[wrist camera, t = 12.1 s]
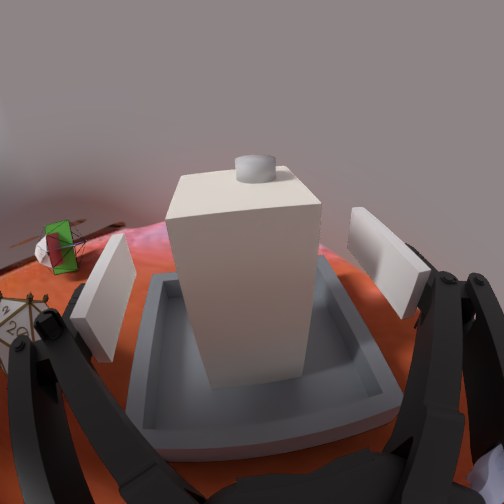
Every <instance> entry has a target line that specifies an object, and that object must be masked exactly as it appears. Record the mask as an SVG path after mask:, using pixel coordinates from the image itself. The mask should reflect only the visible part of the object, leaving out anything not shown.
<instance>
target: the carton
mask: <svg viewBox="0 0 504 504" xmlns="http://www.w3.org/2000/svg"><path fill="white" fill-rule="evenodd" d="M235 167H236V169H235V170H225V171H215V172H206V173H198V174H190V175H182V176H181V178H180V180H179V183H178V186H177V188H176V191H175V193H174V196H173V199H172V201H171V204H170V207H169V210H168V212H167V215H166V218H165V222H166V226H167V231H168V236H169V240H170V245H171V249H172V254H173V258H174V262H175V266H176V270H177V275H178V279H179V283H180V286H181V290H182V294H183V298H184V302H185V305H186V309H187V312H188V316H189V320H190V323H191V327H192V330H193V333H194V337H195V340H196V343H197V346H198V350H199V353H200V356H201V359H202V362H203V365H204V368H205V371H206V374H207V377H208V380H209V383H210V386H211V389H219V388H229V387H238V386H247V385H254V384H262V383H268V382H275V381H281V380H287V379H292V378H298V377H302V372H303V366H304V360H305V354H306V348H307V341H308V335H309V328H310V321H311V313H312V305H313V297H314V289H315V280H316V270H317V260H318V250H319V237H320V225H321V210H322V203H321V202H320V201H319V200H318V199H317V198H316V197H315V196H314V195H313V194H312V193H311V192H310V190H309V189H308V188H307V187H306V186H305V185H304V184H303V183H302V182H301V181H300V180H299V179H298V178H297V177H296V176H295V175H294V174H293V173H292V172H291V171H290V170H289V169H288V168H287V167H286V166H276V158H275V157H274V156H270V155H246V156H241V157H238V158H236V159H235Z"/></svg>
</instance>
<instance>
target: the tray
mask: <svg viewBox="0 0 504 504" xmlns="http://www.w3.org/2000/svg"><path fill="white" fill-rule="evenodd" d="M403 396H404V395H403V393H402V391H401V389H400V387H399V385H398V383H397V381H396V379H395V377H394V375H393V373H392V371H391V369H390V368H389V366H388V364H387V362H386V360H385V358H384V356H383V354H382V353H381V351H380V349H379V347H378V345H377V344H376V342H375V340H374V338H373V336H372V335H371V333H370V331H369V329H368V327H367V326H366V324H365V322H364V320H363V319H362V317H361V315H360V314H359V312H358V310H357V308H356V307H355V305H354V303H353V302H352V300H351V298H350V297H349V295H348V293H347V292H346V290H345V288H344V287H343V285H342V283H341V282H340V280H339V279H338V277H337V275H336V274H335V272H334V271H333V269H332V267H331V266H330V264H329V263H328V261H327V259H326V258H325V256H324V255H318V260H317V270H316V280H315V289H314V297H313V305H312V313H311V321H310V328H309V335H308V341H307V348H306V354H305V360H304V366H303V372H302V377H298V378H292V379H287V380H281V381H275V382H268V383H262V384H254V385H247V386H238V387H229V388H219V389H211V386H210V383H209V380H208V377H207V374H206V371H205V368H204V365H203V362H202V359H201V356H200V353H199V350H198V346H197V343H196V340H195V337H194V333H193V330H192V327H191V323H190V320H189V316H188V312H187V309H186V305H185V302H184V298H183V294H182V290H181V286H180V283H179V279H178V275H177V272H170V273H160V274H152V278H151V282H150V286H149V290H148V294H147V298H146V302H145V306H144V310H143V315H142V319H141V324H140V328H139V333H138V338H137V343H136V348H135V353H134V359H133V364H132V370H131V376H130V382H129V389H128V396H127V403H126V411H125V414H126V415H127V416H128V417H129V419H130V420H131V421H132V423H133V424H134V425H135V426H136V428H137V429H138V430H139V431H140V433H141V434H142V435H143V436H144V437H145V439H146V440H147V441H148V442H149V443H150V444H151V446H152V447H153V448H154V449H155V450H156V451H157V452H158V453H159V455H160V456H161V457H162V458H163V459H164V460H165V461H166V462H208V461H225V460H237V459H247V458H255V457H262V456H269V455H275V454H281V453H286V452H292V451H297V450H301V449H306V448H310V447H314V446H318V445H322V444H326V443H330V442H334V441H337V440H340V439H344V438H347V437H350V436H353V435H357V434H360V433H362V432H365V431H368V430H371V429H374V428H376V427H379V426H382V425H384V424H387V423H389V422H391V421H392V419H393V418H394V417H395V416H396V415H397V414H398V413H399V410H400V407H401V403H402V400H403Z"/></svg>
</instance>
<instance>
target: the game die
mask: <svg viewBox="0 0 504 504" xmlns="http://www.w3.org/2000/svg"><path fill="white" fill-rule="evenodd" d="M48 299H49V298H48V294H47V295H44V297H43V301H40V300H33V295H32V294H31V292H30V293H29V294H28V295H27V299H15V298H5V297H2V293H1V291H0V366H1V368H2V370H3V372H4V374H5V376H6V377H7V379H8V359H9V348H10V345H11V343H12V342H13V340H14V339H15V338H16V337H18V336H20V335H27V336H28V337H29V338H30V339H31V341H32V342H34V341H37V340H40V339H41V337H40V336H39V335H38V333H37V332H36V330H35V329H34V327H33V323H34V320H35V318H36V317H37V316H38V315H39V314H40V313H41V312H42V311H44V310H46V309H49V307H48V306H47V304H46V302H47V301H48ZM7 389H8V388H7ZM61 390H62V388H61Z"/></svg>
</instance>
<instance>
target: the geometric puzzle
mask: <svg viewBox="0 0 504 504" xmlns="http://www.w3.org/2000/svg"><path fill="white" fill-rule="evenodd" d="M72 225H73V224H72ZM44 227H45V234H46V235H45V236H44V237H43V238H42V240H40V241H39V243H38V244H37V245H36V251H35V254H34V255H35V256H36V257H37V259H38V261H39V262H40V264H42V265H45V266H46V267H47V268H48V267H50V268H52V269H53V272H54V273H53V272H52V271H51V270H50V269H49V268H48V269H49V270H50V271H51V272H52V273H53V274H54V275H55V274H60V273H65V272H70V271H76V270H78V271H79V269H78V264H77V262H76V261H77V258H75V256H76V251H75V253H74V248H75V245H78V244H81V243H83V242H79V243H75V244H73V243H74V240H73V243H72V239H73V237H72V238H71V234H72V232H71V231H70V230H71V228H70V224H69V219H68V220H64V221H60V222H56V223H53V224H49V225H44ZM80 238H81V237H80ZM83 238H84V237H83ZM83 238H82V239H83ZM46 240H47V245H48V250H47V247H46ZM83 240H84V239H83ZM84 242H85V243H86V242H87V240H85V241H84ZM85 243H84V244H85ZM84 244H83V245H84ZM73 247H74V248H73ZM81 248H82V247H81ZM81 248H80V249H81ZM84 248H85V247H84ZM48 251H49V255H50V260H51V263H50V260H49V257H48V254H47V252H48ZM83 251H84V250H83ZM78 252H79V251H78ZM78 252H77V253H78ZM81 258H82V257H81ZM80 262H81V261H80ZM51 264H52V265H51Z"/></svg>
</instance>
